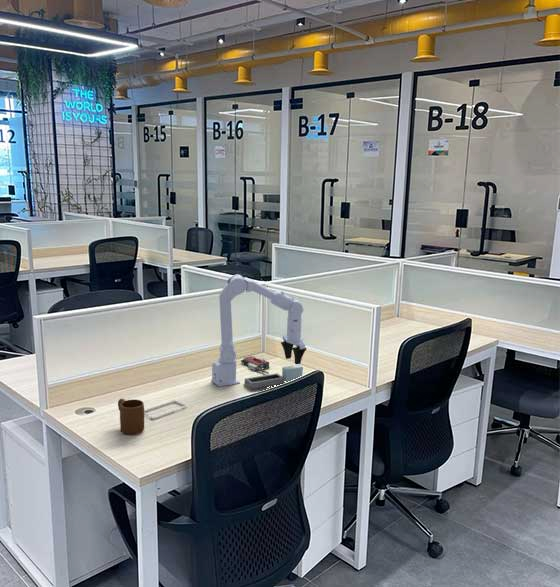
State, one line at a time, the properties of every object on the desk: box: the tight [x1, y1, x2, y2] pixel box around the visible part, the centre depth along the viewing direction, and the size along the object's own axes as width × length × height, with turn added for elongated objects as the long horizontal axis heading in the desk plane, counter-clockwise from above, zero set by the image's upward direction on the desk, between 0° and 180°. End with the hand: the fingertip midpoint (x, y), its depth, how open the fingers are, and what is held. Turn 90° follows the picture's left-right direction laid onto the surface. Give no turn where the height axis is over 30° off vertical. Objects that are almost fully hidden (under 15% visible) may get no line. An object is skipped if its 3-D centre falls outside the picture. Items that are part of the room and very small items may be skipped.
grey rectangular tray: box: [243, 373, 285, 392], centre depth 226 cm, size 15×8×3 cm, turn 120°
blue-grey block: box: [281, 364, 304, 384], centre depth 232 cm, size 8×3×6 cm, turn 120°
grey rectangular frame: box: [144, 399, 188, 420], centre depth 198 cm, size 7×1×15 cm
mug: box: [117, 398, 145, 436], centre depth 183 cm, size 12×8×9 cm, turn 45°
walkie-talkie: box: [240, 355, 270, 375], centre depth 246 cm, size 9×4×20 cm
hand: (292, 361), depth 231 cm, fingers open, 7 cm apart
